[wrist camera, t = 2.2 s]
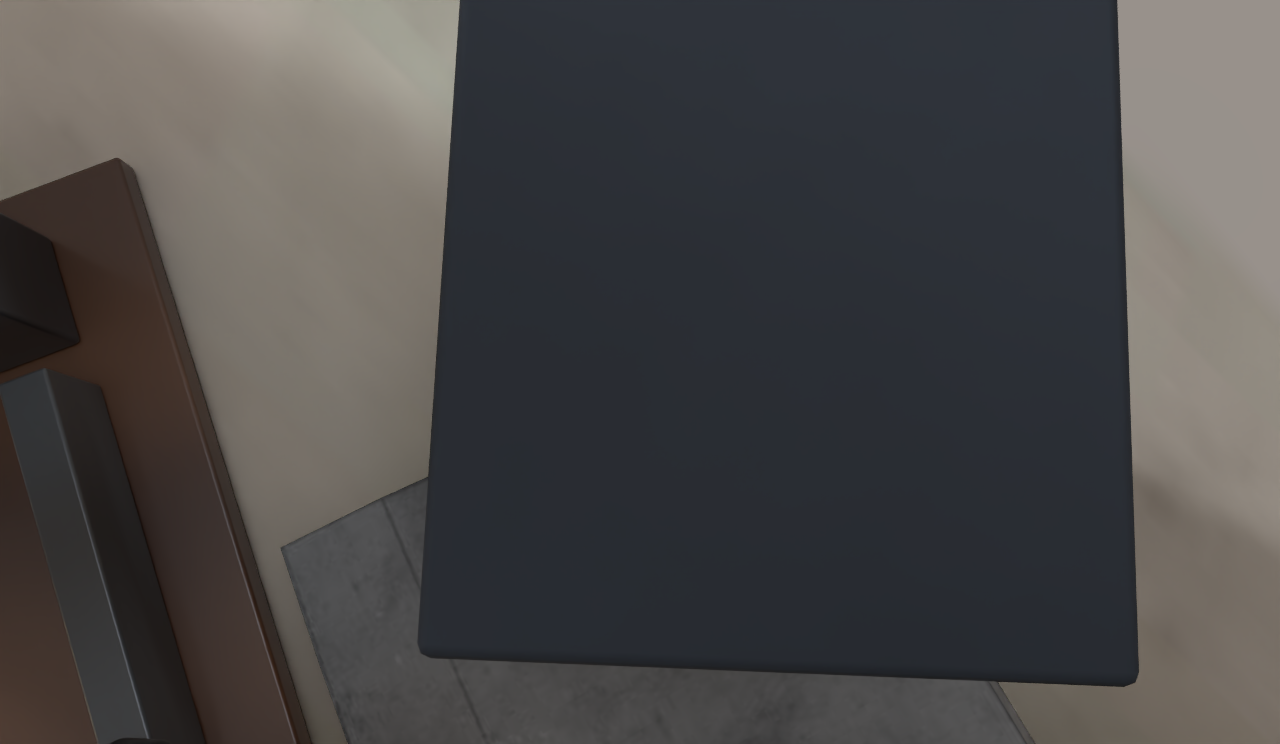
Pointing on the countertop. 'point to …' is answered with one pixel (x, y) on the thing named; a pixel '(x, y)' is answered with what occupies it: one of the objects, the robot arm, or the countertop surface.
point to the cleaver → (577, 672)
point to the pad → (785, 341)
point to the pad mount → (117, 497)
